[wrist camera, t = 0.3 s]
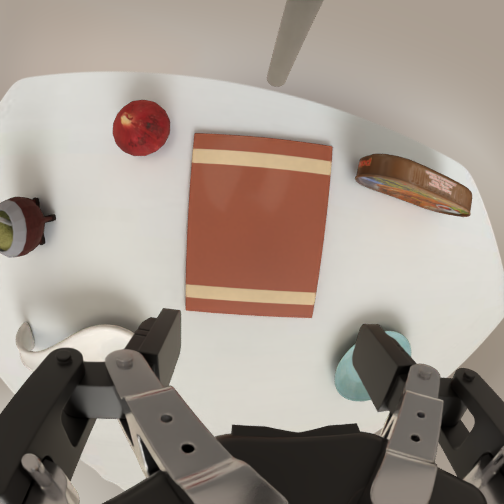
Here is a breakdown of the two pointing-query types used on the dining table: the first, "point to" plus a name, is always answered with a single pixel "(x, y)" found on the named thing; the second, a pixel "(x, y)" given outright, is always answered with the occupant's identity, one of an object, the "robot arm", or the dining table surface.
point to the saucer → (349, 379)
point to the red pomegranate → (141, 128)
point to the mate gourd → (21, 226)
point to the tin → (414, 184)
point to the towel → (256, 225)
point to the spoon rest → (75, 343)
